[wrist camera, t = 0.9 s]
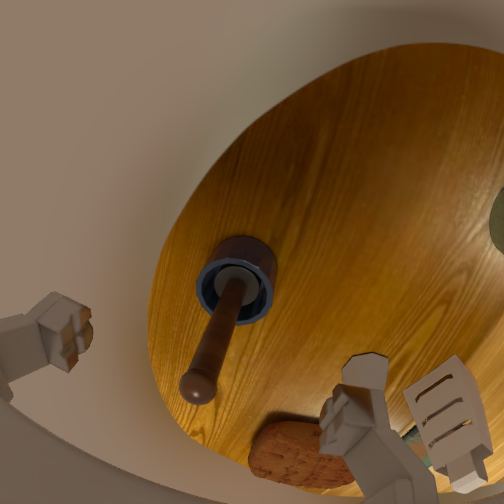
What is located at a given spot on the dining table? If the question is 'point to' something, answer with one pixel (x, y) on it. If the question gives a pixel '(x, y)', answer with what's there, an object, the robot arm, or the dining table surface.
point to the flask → (366, 371)
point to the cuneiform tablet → (296, 457)
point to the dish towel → (420, 445)
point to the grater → (452, 424)
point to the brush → (218, 332)
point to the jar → (498, 222)
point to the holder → (251, 257)
